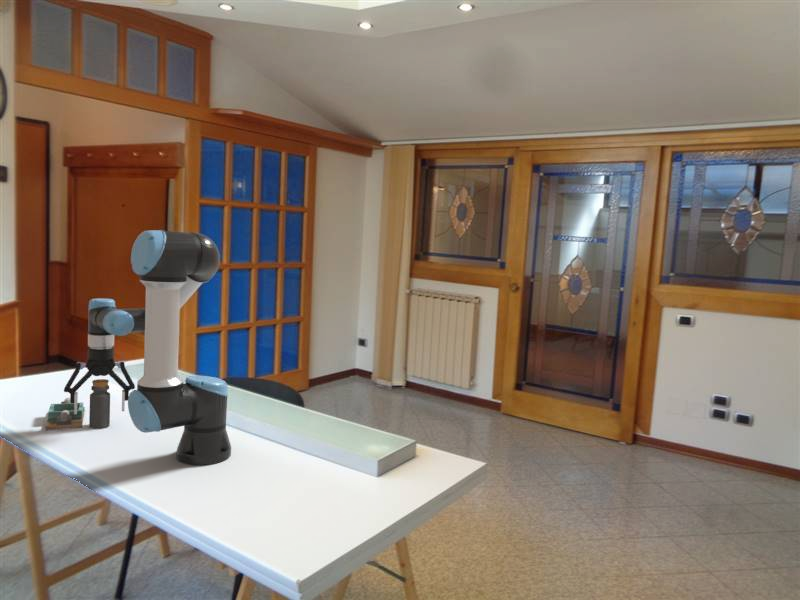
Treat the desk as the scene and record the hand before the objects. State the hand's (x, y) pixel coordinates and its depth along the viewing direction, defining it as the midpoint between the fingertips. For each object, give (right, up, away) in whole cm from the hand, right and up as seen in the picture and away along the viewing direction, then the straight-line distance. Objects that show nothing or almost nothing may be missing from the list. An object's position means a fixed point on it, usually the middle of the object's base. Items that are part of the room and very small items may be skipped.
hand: (99, 411), depth 189 cm
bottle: (0, -5, 0) cm, 5 cm away
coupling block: (-13, -3, +4) cm, 14 cm away
